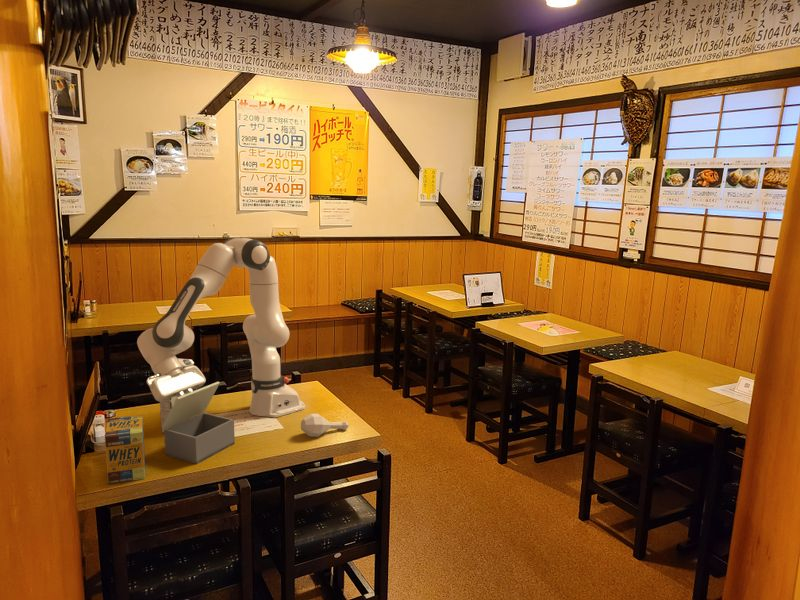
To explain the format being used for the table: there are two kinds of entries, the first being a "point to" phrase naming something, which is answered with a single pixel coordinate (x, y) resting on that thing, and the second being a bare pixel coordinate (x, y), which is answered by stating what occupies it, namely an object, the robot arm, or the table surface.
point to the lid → (190, 405)
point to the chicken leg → (320, 425)
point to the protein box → (125, 449)
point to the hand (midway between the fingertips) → (190, 402)
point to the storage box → (199, 437)
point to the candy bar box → (167, 409)
